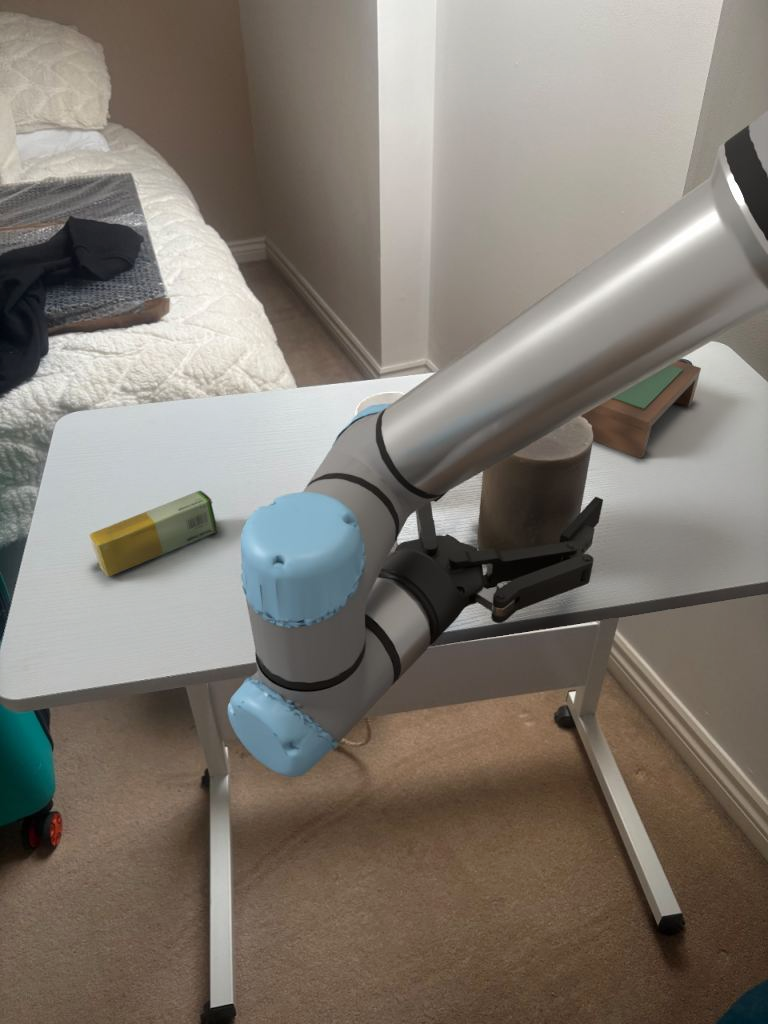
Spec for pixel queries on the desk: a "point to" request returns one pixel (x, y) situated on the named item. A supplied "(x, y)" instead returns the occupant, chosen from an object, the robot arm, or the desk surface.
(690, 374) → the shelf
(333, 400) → the desk surface
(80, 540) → the desk surface
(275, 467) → the desk surface
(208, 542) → the desk surface
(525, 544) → the pillar candle
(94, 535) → the medication box
